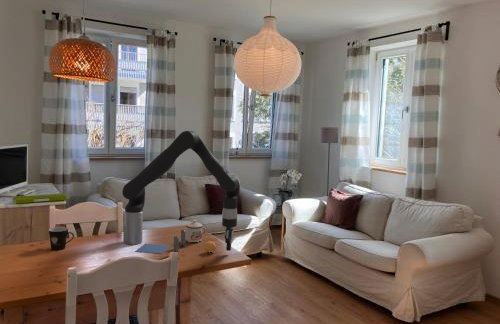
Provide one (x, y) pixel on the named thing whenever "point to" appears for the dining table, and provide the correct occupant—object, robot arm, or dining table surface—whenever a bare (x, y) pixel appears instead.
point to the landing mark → (153, 248)
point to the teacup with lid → (194, 231)
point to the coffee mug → (58, 238)
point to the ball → (210, 246)
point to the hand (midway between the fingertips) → (228, 250)
